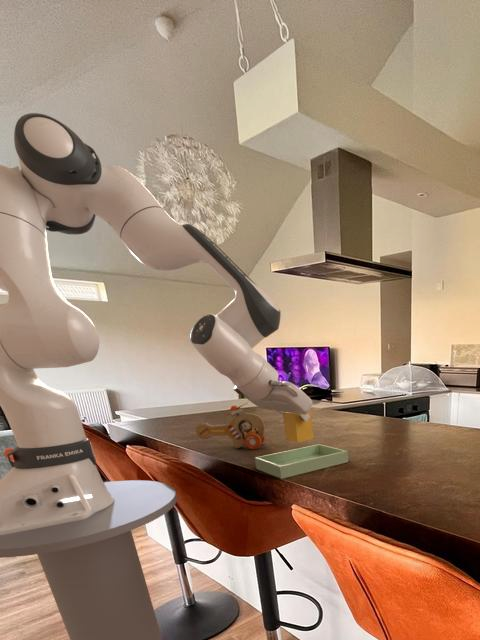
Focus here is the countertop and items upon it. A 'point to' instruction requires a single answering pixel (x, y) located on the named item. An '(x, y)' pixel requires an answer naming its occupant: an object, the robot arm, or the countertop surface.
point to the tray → (300, 460)
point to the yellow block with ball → (297, 427)
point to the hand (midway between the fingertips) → (299, 417)
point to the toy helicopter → (237, 429)
